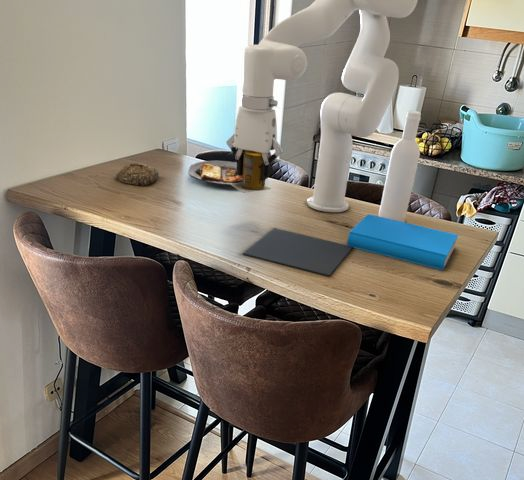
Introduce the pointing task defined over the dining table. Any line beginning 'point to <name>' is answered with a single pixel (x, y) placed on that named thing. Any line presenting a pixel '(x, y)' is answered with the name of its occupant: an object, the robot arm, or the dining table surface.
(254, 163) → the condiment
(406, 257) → the book
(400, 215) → the bottle
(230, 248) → the dining table surface
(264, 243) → the mat
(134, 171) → the bread roll
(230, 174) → the food plate
